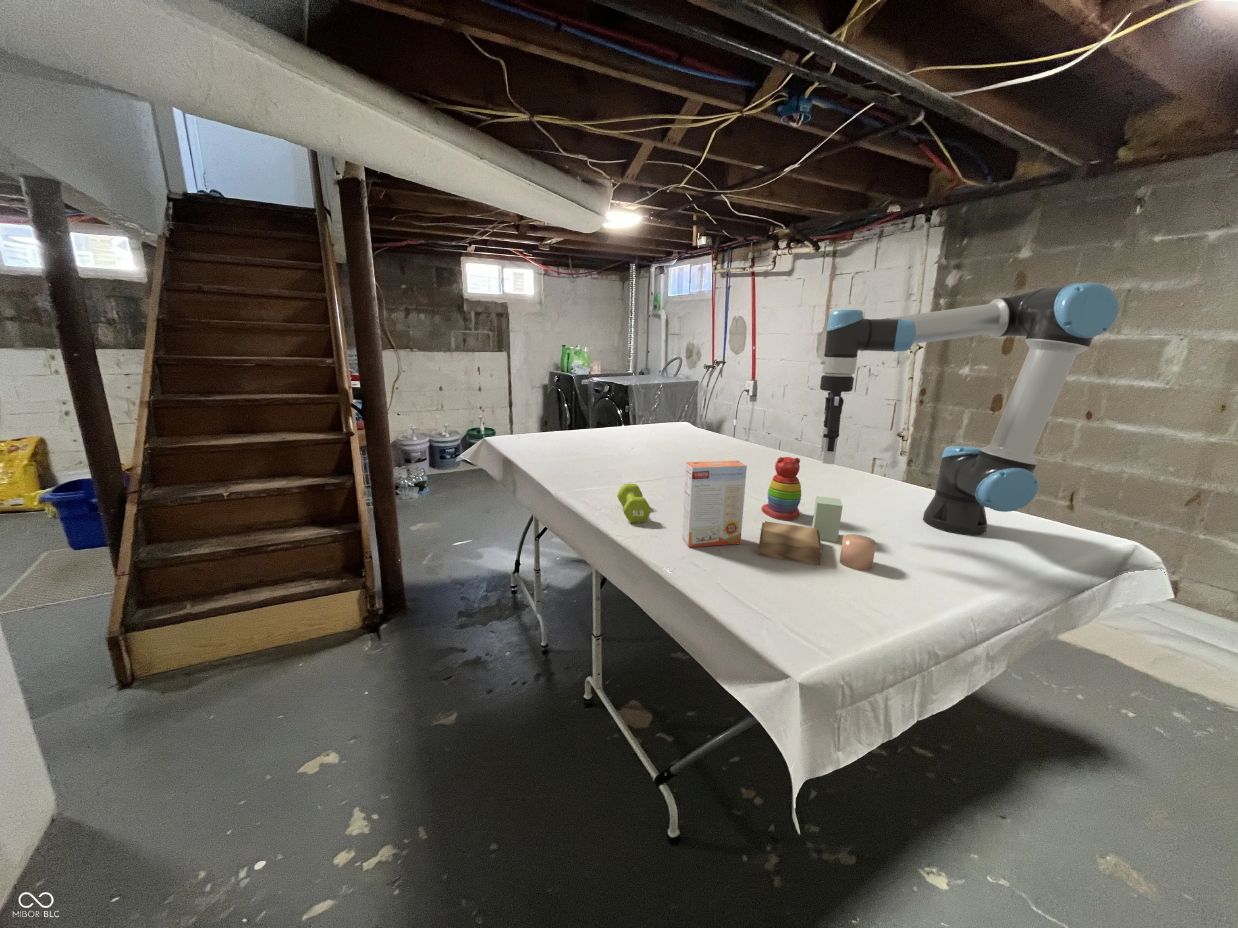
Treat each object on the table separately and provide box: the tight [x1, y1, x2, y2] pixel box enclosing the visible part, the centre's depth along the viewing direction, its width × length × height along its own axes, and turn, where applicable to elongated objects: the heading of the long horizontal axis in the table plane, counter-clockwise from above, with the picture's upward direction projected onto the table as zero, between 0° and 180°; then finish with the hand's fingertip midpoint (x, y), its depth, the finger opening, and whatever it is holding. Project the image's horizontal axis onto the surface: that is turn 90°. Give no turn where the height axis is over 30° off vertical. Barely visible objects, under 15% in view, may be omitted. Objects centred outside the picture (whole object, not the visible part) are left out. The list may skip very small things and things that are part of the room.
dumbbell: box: [616, 483, 652, 524], centre depth 142 cm, size 16×8×7 cm, turn 7°
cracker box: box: [682, 460, 748, 548], centre depth 122 cm, size 14×6×21 cm, turn 100°
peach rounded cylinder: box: [838, 533, 877, 572], centre depth 113 cm, size 7×7×6 cm
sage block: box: [811, 495, 844, 543], centre depth 128 cm, size 6×6×10 cm
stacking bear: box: [761, 456, 802, 521], centre depth 142 cm, size 11×10×18 cm
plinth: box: [757, 521, 823, 566], centre depth 121 cm, size 14×14×4 cm
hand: (827, 457), depth 126 cm, fingers open, 13 cm apart
